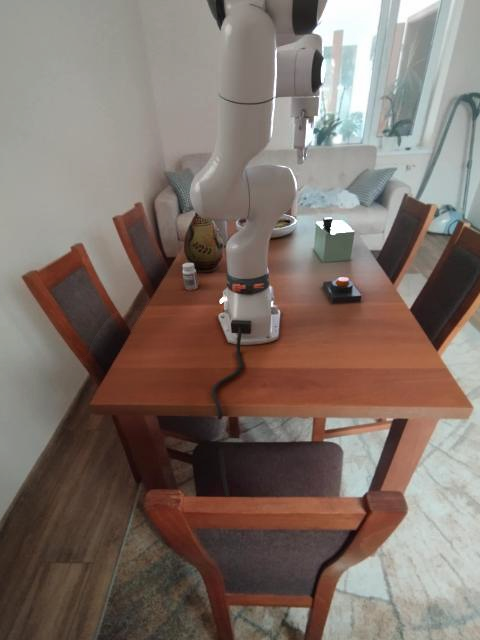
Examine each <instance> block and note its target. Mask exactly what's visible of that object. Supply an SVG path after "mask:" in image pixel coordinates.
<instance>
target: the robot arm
mask: <svg viewBox="0 0 480 640" xmlns="http://www.w3.org/2000/svg"><path fill="white" fill-rule="evenodd" d="M330 1H331V0H206V3H207V5H208V8H209V11H210V13H211V15H212V17H213V19H214V20H215V22H216V25H217V27H218V30H219V31H220V35H219V43H218V53H217V54H218V55H217V79H216V80H217V116H218V117H217V134H216V140H215V141H216V142H215V145H214V149H213V151H212V153H211V156H210V157H209V158H208V161H207V162H206V164H205V165H204V167H203V168H201V170H200V171H199V172H197V173H196V174H195V175H194V177H193V179H192V180H191V184H190V187H189V199H190V203H191V206H192V208H193V210H194V212H195V213H197V214H198V215H199V216H200V217H201V218H202V219H207V220H216V221H225V220H226V221H232V220H233V221H234V220H239V219H243V218H247V220H246V223H245V225H244V226H243V228H242V229H241V230H240V231H238V230H237V232H235V233H234V234H232V235H231V236H230V237H229V239H228V242H227V244H226V246H225V256H226V257H225V259H226V269H227V270H226V275H225V280H226V288H225V289H224V290H222V297H221V298H220V299H219V304H222V303H223V309H222V311H223V312H221V313H219V314H218V317H217V319H218V321H219V323H220V327H221V328H222V331H223V333H224V336H225V338H226V341H227V342H228V343H230V344H231V345H232V344H233V345H236V359H237V361H238V366H237V369H236V370H235V371H234V372H232V373H231V374H229V375H228V376H226V377H224V378H223V379H221V380H219V381H218V382H216V384H215V385H214V386H213V388H212V390H211V398H212V401H213V402H214V404H215V408H216V413H217V419H218V421H219V420H222V419H223V411H222V410H223V409H222V406H221V403H220V401H219V399H218V397H217V391H218V389H219V387H221V386H223V384H225V383H227V382H229V381H231V380H233V379H234V378H236V377H237V376H238V375H239V374H240V373H241V371H242V368H243V364H244V363H243V360H242V356H241V355H242V354H241V346H242V345H243V346H249V345H261V344H262V345H263V344H267V343H271V342H274V341H276V340H278V339H279V337H280V324H281V310H280V309H279V308H278V306H277V305H274V302H276V301H277V296H274V287H273V286H272V285H270V279H271V278H270V276H271V275H270V270H269V268H268V260H269V259H268V257H269V247H270V240H271V238H270V237H271V234H272V231H273V229H274V227H275V225H276V224H277V222H278V221H279V219H280V218H281V217H282V216H283V215H286V213H287V212H288V211H290V209H291V208H292V206H293V205H294V203H295V201H296V198H297V194H298V184H297V183H298V182H297V179H296V176H295V174H294V173H293V171H292V169H291V168H289V167H288V166H284V165H279V164H271V163H267V164H257V165H248V164H249V163H250V162H251V160H253V159H254V158H256V157H257V156H259V155H260V154H261V153H262V152H264V151H265V150H266V149H267V147H268V145H269V144H270V142H271V139H272V137H273V130H274V120H275V119H274V118H275V106H276V99H277V98H290V118H293V119H294V120H293V121H294V131H293V132H294V133H293V149H294V150H296V157H297V159H296V160H297V162H296V163H297V165H303V164H304V161H306V160H307V158H308V151H309V150H308V149H309V144H310V143H311V142H312V141H313V137H314V136H313V135H314V130H315V129H314V128H315V122H316V117H319V116H320V108H321V97H322V95H321V88H322V87H323V86H324V84H325V80H326V79H325V78H326V77H325V76H326V66H327V59H326V58H325V57H324V42H323V37H322V36H321V35H320V34H317V33H314V32H315V31H316V30H317V29H318V28H319V27H320V25H321V24H322V22H323V19H324V16H325V15H326V12H327V9H328V6H329V3H330ZM291 44H294V49H288V50H277V49H278V48H280V47H284V46H288V45H291ZM218 455H219V465H220V471H221V472H220V473H221V479H222V484H223V490H224V495H225V496H229V497H230V494H229V493H230V492H229V487H228V481H227V473H226V466H225V457H224V456H225V455H224V448H218ZM225 496H224V497H225Z"/></svg>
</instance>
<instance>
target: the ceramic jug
mask: <svg viewBox="0 0 480 640" xmlns="http://www.w3.org/2000/svg"><path fill="white" fill-rule="evenodd" d="M183 252H184V256H185V258H186V260H187V262H188V263H193V264H194V269H195V270H196V273H199V274H206V273H212V272H214V271H216V270H217V268H218V265H219V264H220V262H221V261H222V259H223V257H224V253H225V246H224V242H223V238H222V236H221V233H220V231H219V229H218V227H217V226H216V225H215V223H214V222H213V220H207V219H202V218H201V217H200V216H199V215H198V214H197V213H196V212H195V214H194V215H193V217H192V219H191V221H190V223H189V225H188V227H187V230H186V232H185V235H184V242H183Z"/></svg>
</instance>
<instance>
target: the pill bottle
mask: <svg viewBox="0 0 480 640" xmlns="http://www.w3.org/2000/svg"><path fill="white" fill-rule="evenodd" d="M182 277H183V282H184V288H185V289H186V290H187V291H194V290H196V289H198V288H199V281H198V275H197V272H196V270H195V269H194V264H193V263H190V262H184V263H183V264H182Z"/></svg>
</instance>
